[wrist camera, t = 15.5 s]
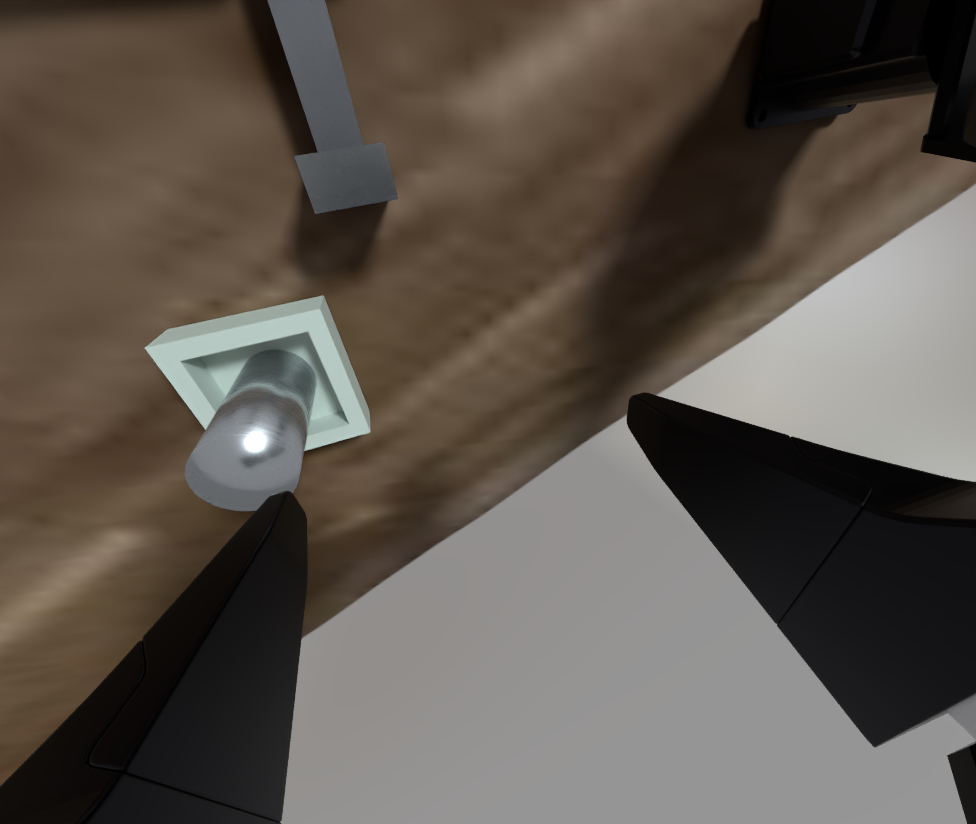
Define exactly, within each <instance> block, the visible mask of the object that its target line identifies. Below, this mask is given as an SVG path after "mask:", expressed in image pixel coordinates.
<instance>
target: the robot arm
mask: <svg viewBox="0 0 976 824" xmlns="http://www.w3.org/2000/svg"><path fill="white" fill-rule="evenodd" d="M929 93H936V94H935V99H934V103H933V108H932V113H931V118H930V122H929V127H928V132H927V134H926V135H924V136H923V141H922V145H921V150H920V151H921V152H924V153H929V154H934V155H940V156H945V157H950V158H955V159H961V160H966V161H971V162H976V0H772V4H771V9H770V13H769V18H768V23H767V27H766V32H765V37H764V41H763V46H762V50H761V55H760V60H759V64H758V69H757V74H756V78H755V83H754V88H753V92H752V97H751V101H750V106H749V111H748V115H747V127H748V128H749V129H752V130H753V129H761V128H767V127H772V126H778V125H784V124H789V123H795V122H800V121H806V120H812V119H817V118H823V117H829V116H834V115H840V114H845V113H849V112H851V111H852V110H853V109H854V108H855V106H856V105H857V104H858V103H865V102H872V101H879V100H886V99H894V98H901V97H908V96H915V95H922V94H929ZM759 113H760V116H759ZM758 116H759V119H758ZM627 424H628V427H629V429H630V431H631V433H632V434H633V436H634V437H635V439H636V440H637V442H638V444H639V445H640V447H641V448H642V450H643V452H644V453H645V455H646V457H647V458H648V460H649V461H650V463H651V465H652V466H653V468H654V469H655V470H656V472H657V473H658V474H659V476H660V477H661V479H662V480H663V481H664V482H665V484H666V485H667V486H668V487H669V489H670V490H671V491H672V492H673V494H674V495H675V496H676V498H677V499H678V500H679V501H680V503H681V504H682V505H683V507H684V508H685V509H686V510H687V511H688V513H689V514H690V515H691V517H692V518H693V519H694V520H695V522H696V523H697V524H698V526H699V527H700V528H701V529H702V531H703V532H704V533H705V535H706V536H707V537H708V538H709V540H710V541H711V542H712V543H713V545H714V546H715V547H716V548H717V550H718V551H719V552H720V554H721V555H722V556H723V557H724V559H725V560H726V561H727V562H728V564H729V565H730V566H731V567H732V568H733V570H734V571H735V573H736V574H737V575H738V576H739V578H740V579H741V580H742V582H743V583H744V584H745V585H746V586H747V588H748V589H749V590H750V592H751V593H752V594H753V595H754V597H755V598H756V599H757V600H758V602H759V603H760V604H761V606H762V607H763V608H764V609H765V611H766V612H767V613H768V615H769V616H770V617H771V618H772V619H773V621H774V622H775V623H776V624H777V626H778V628H779V629H780V630H781V631H782V633H783V634H784V635H785V637H786V638H787V639H788V640H789V641H790V643H791V644H792V645H793V647H794V648H795V649H796V650H797V652H798V653H799V654H800V655H801V657H802V658H803V659H804V661H805V662H806V663H807V664H808V666H809V667H810V668H811V670H812V671H813V672H814V673H815V675H816V676H817V677H818V678H819V680H820V681H821V682H822V683H823V685H824V686H825V687H826V689H827V690H828V691H829V692H830V693H831V695H832V696H833V697H834V699H835V700H836V701H837V703H838V704H839V705H840V706H841V707H842V709H843V710H844V711H845V713H846V714H847V715H848V716H849V718H850V719H851V720H852V722H853V723H854V724H855V725H856V727H857V728H858V729H859V730H860V732H861V733H862V734H863V735H864V737H865V738H866V739H867V740H868V741H869V742H870V743H871V744H872V746H873V747H878V746H880V745H882V744H884V743H886V742H888V741H890V740H892V739H894V738H897V737H899V736H901V735H903V734H905V733H907V732H909V731H911V730H913V729H915V728H918V727H919V726H922V725H924V724H926V723H928V722H930V721H932V720H934V719H936V718H938V717H940V716H943V715H944V714H947V713H948V714H949V715H950V716H951V717H952V718H953V719H954V720H955V721H956V722H958V723H959V724H960V725H961V726H962V727H963V728H964V729H965V730H966V731H967V732H968V733H969V734H970V735H971V736H972V737H973V738H974V739H976V482H971V481H964V480H957V479H953V478H949V477H944V476H940V475H936V474H932V473H928V472H923V471H920V470H916V469H912V468H908V467H903V466H900V465H896V464H892V463H887V462H883V461H880V460H876V459H871V458H867V457H864V456H860V455H856V454H852V453H848V452H844V451H841V450H837V449H833V448H830V447H826V446H823V445H819V444H815V443H812V442H809V441H806V440H802V439H799V438H795V437H789V436H788V435H786V434H782V433H779V432H776V431H772V430H769V429H766V428H762V427H759V426H756V425H752V424H749V423H746V422H742V421H739V420H736V419H732V418H729V417H726V416H722V415H719V414H716V413H712V412H709V411H706V410H702V409H699V408H696V407H692V406H689V405H686V404H682V403H679V402H676V401H673V400H669V399H666V398H663V397H659V396H656V395H653V394H649V393H640V394H637V395H633V396H631V397H630V399H629V405H628V413H627ZM307 577H308V562H307V518H306V514H305V512H304V510H303V509H302V507H301V506H300V504H299V502H298V501H297V499H296V498H295V496H294V495H293V493H292V492H290V491H282V492H279V493H275V494H272V495H270V496H269V497H268V498H267V499H266V500H265V501H264V502H263V504H262V505H261V506H260V507H259V508H258V509H257V510H256V511H255V513H254V514H253V515H252V516H251V517H250V518H249V519H248V520H247V521H246V523H245V524H244V525H243V526H242V527H241V528H240V529H239V530H238V531H237V533H236V534H235V535H234V536H233V537H232V538H231V539H230V540H229V542H228V543H227V544H226V545H225V546H224V547H223V548H222V549H221V550H220V552H219V553H218V554H217V555H216V556H215V557H214V558H213V559H212V561H211V562H210V563H209V564H208V565H207V566H206V567H205V568H204V569H203V571H202V572H201V573H200V574H199V575H198V576H197V577H196V578H195V579H194V581H193V582H192V583H191V584H190V585H189V586H188V587H187V588H186V590H185V591H184V592H183V593H182V594H181V595H180V596H179V597H178V598H177V600H176V601H175V602H174V603H173V604H172V605H171V606H170V607H169V608H168V610H167V611H166V612H165V613H164V614H163V615H162V616H161V617H160V619H159V620H158V621H157V622H156V623H155V624H154V625H153V626H152V627H151V629H150V630H149V631H148V632H147V633H146V634H145V635H144V636H143V641H139V642H138V643H137V644H136V645H135V646H134V647H133V648H132V650H131V651H130V652H129V653H128V654H127V655H126V656H125V657H124V659H123V660H122V661H121V662H120V663H119V664H118V665H117V666H116V667H115V668H114V669H113V671H112V672H111V673H110V674H109V675H108V676H107V677H106V678H105V679H104V680H103V681H102V682H101V684H100V685H99V686H98V687H97V688H96V689H95V690H94V691H93V692H92V693H91V694H90V695H89V696H88V698H87V699H86V700H85V701H84V702H83V703H82V704H81V705H80V706H79V707H78V708H77V709H76V710H75V711H74V712H73V713H72V714H71V715H70V716H69V717H68V718H67V719H66V720H65V721H64V722H63V723H62V724H61V725H60V726H59V727H58V729H57V730H56V731H55V732H54V733H53V734H52V735H51V736H50V737H49V738H48V739H47V740H46V741H45V742H44V743H43V744H42V745H41V746H40V747H39V748H38V749H37V750H36V751H35V752H34V753H33V754H32V755H31V756H30V757H29V758H28V759H27V760H26V761H25V762H24V763H23V764H22V765H21V766H20V767H19V768H18V769H17V770H16V771H15V772H14V773H13V774H12V775H11V776H10V777H9V778H8V779H7V780H6V781H5V782H4V783H3V784H2V785H1V786H0V824H281V823H280V821H281V820H282V813H283V804H284V795H285V785H286V776H287V766H288V758H289V748H290V739H291V730H292V720H293V710H294V702H295V692H296V683H297V674H298V665H299V656H300V646H301V637H302V628H303V619H304V609H305V600H306V591H307ZM947 756H948V760H949V763H950V766H951V770H952V773H953V776H954V780H955V783H956V787H957V790H958V794H959V797H960V801H961V804H962V807H963V811H964V814H965V818H966V820H967V824H976V741H975V742H973V743H971V744H969V745H967V746H965V747H963V748H961V749H959V750H957V751H955V752H953V753H951V754H949V755H947Z"/></svg>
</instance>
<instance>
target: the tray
mask: <svg viewBox="0 0 976 824" xmlns="http://www.w3.org/2000/svg"><path fill="white" fill-rule="evenodd" d="M145 349H146V350H147V352H148V353H149V354H150V356H151V357H152V358H153V360H154V361H155V362H156V364H157V365H158V366H159V368H160V369H161V371H162V372H163V373H164V375H165V376H166V377H167V379H168V380H169V381H170V383H171V384H172V385H173V387H174V388H175V389H176V391H177V392H178V393H179V395H180V396H181V397H182V399H183V400H184V401H185V403H186V404H187V405H188V407H189V408H190V410H191V411H192V412H193V414H194V415H195V416H196V418H197V419H198V420H199V422H200V423H201V424H202V426H203V427H204V428H205V430H206V429H207V427H208V425H209V424H210V422H211V420H212V418H213V417H214V415H215V413H216V412H217V410H218V408H219V407H220V405H221V403H222V402H223V400H224V398H225V396H226V395H227V393H228V391H229V390H230V388H231V386H232V385H233V383H234V381H235V380H236V378H237V376H238V374H239V373H240V371H241V369H242V368H243V366H244V364H245V363H246V361H247V360H248V359H249V358H250V357H251V356H253V355H254V354H256V353H258V352H261V351H264V350H272V349H277V350H285V351H289V352H292V353H294V354H296V355H298V356H300V357H301V358H303V359H304V360H305V361H307V362H308V364H309V365H310V366H311V367H312V369H313V370H314V372H315V375H316V379H317V386H316V392H315V397H314V402H313V408H312V413H311V418H310V423H309V429H308V434H307V439H306V445H305V450H304V451H306V450H310V449H313V448H317V447H320V446H324V445H327V444H331V443H334V442H338V441H342V440H345V439H349V438H352V437H356V436H359V435H363V434H366V433H370V432H371V430H370V411H369V409H368V406H367V404H366V401H365V399H364V396H363V394H362V391H361V389H360V386H359V383H358V381H357V378H356V376H355V373H354V371H353V368H352V366H351V363H350V361H349V358H348V356H347V353H346V351H345V348H344V346H343V343H342V341H341V338H340V336H339V333H338V331H337V328H336V326H335V323H334V321H333V318H332V315H331V313H330V310H329V308H328V305H327V303H326V300H325V298H324V295H323V296H319V297H314V298H310V299H305V300H300V301H296V302H291V303H287V304H282V305H277V306H273V307H268V308H264V309H259V310H254V311H250V312H245V313H240V314H236V315H231V316H227V317H222V318H217V319H213V320H208V321H204V322H199V323H194V324H190V325H185V326H181V327H176V328H171V329H167V330H166V331H165V332H164V333H162V334H161V335H160V336H159V337H157V338H156V339H155V340H154V341H153V342H151V343H150V344H149V345H148V346H146V347H145Z"/></svg>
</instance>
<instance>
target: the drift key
mask: <svg viewBox="0 0 976 824" xmlns="http://www.w3.org/2000/svg"><path fill="white" fill-rule="evenodd" d="M268 3H269V6H270V9H271V12H272V15H273V18H274V21H275V24H276V27H277V30H278V33H279V36H280V40H281V43H282V46H283V49H284V52H285V55H286V58H287V61H288V64H289V67H290V70H291V73H292V76H293V79H294V82H295V85H296V88H297V91H298V94H299V97H300V100H301V103H302V106H303V109H304V112H305V115H306V118H307V121H308V124H309V127H310V130H311V133H312V136H313V139H314V142H315V145H316V148H317V151H318V152H317V153H310V154H304V155H297V156H294V157H295V160H296V163H297V165H298V168H299V171H300V174H301V176H302V179H303V182H304V185H305V187H306V190H307V193H308V196H309V198H310V201H311V204H312V207H313V209H314V212H315V214H318V213H324V212H329V211H335V210H340V209H346V208H351V207H357V206H362V205H368V204H373V203H379V202H385V201H390V200H396V199H398V197H397V193H396V189H395V184H394V180H393V176H392V172H391V168H390V164H389V160H388V156H387V151H386V147H385V143H384V142H382V143H375V144H369V145H364V144H363V141H362V137H361V133H360V129H359V126H358V122H357V118H356V115H355V111H354V107H353V103H352V100H351V96H350V92H349V89H348V85H347V81H346V77H345V74H344V70H343V66H342V62H341V59H340V55H339V51H338V48H337V44H336V40H335V36H334V33H333V29H332V25H331V22H330V18H329V14H328V10H327V7H326V3H325V0H268Z"/></svg>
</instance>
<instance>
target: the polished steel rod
mask: <svg viewBox="0 0 976 824" xmlns="http://www.w3.org/2000/svg"><path fill="white" fill-rule="evenodd" d="M316 386H317V379H316V375H315V372H314V370H313V369H312V367H311V366H310V365H309V364H308V362H307V361H305V360H304V359H303V358H301V357H300V356H298V355H296V354H294V353H292V352H289V351H285V350H277V349H272V350H264V351H261V352H258V353H256V354H254V355H253V356H251V357H250V358H249V359H248V360H247V361H246V363H245V364H244V366H243V368H242V369H241V371H240V373H239V374H238V376H237V378H236V380H235V381H234V383H233V385H232V386H231V388H230V390H229V391H228V393H227V395H226V396H225V398H224V400H223V402H222V403H221V405H220V407H219V408H218V410H217V412H216V413H215V415H214V417H213V418H212V420H211V422H210V424H209V425H208V427H207V429H206V430H205V432H204V434H203V435H202V437H201V439H200V440H199V442H198V444H197V446H196V447H195V449H194V451H193V452H192V454H191V456H190V457H189V459H188V461H187V463H186V466H185V477H186V481H187V483H188V485H189V487H190V488H191V489H192V491H193V492H194V493H195V494H196V495H197V496H199V497H200V498H201V499H203V500H204V501H206V502H208V503H210V504H212V505H214V506H217V507H220V508H224V509H228V510H234V511H256V510H257V509H258V508H259V507H260V506H261V505H262V504H263V502H264V501H265V500H266V499H267V498H268V497H269V496H270V495H272V494H275V493H279V492H282V491H290V492H292V493H293V492H294V490H295V489H296V487H297V485H298V481H299V476H300V471H301V466H302V460H303V455H304V450H305V445H306V439H307V434H308V429H309V423H310V418H311V413H312V408H313V402H314V397H315V392H316Z"/></svg>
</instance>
